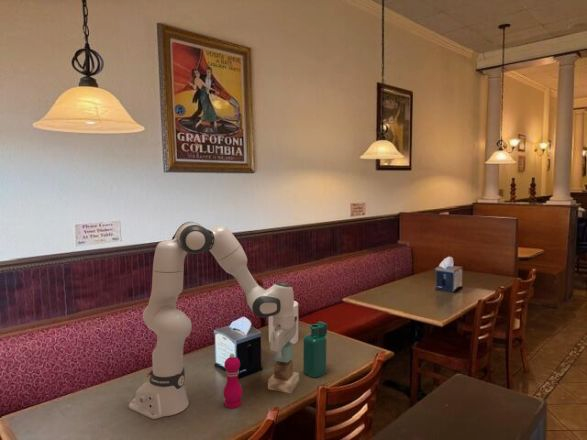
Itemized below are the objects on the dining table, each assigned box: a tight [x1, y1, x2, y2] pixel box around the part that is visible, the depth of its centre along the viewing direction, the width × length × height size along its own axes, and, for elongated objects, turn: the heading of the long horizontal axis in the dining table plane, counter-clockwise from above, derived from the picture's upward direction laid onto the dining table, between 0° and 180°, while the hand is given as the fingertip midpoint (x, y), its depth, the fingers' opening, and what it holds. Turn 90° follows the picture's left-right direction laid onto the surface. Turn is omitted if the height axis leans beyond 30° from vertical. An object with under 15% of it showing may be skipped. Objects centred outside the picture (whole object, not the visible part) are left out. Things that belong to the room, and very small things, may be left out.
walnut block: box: [273, 359, 294, 381], centre depth 173 cm, size 6×6×6 cm
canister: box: [268, 300, 299, 345], centre depth 222 cm, size 16×16×20 cm
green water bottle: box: [302, 321, 328, 379], centre depth 184 cm, size 10×8×22 cm
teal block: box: [273, 342, 294, 363], centre depth 172 cm, size 6×6×6 cm
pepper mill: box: [222, 353, 243, 409], centre depth 159 cm, size 7×7×20 cm
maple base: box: [267, 371, 300, 394], centre depth 173 cm, size 10×10×4 cm
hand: (283, 353), depth 172 cm, fingers closed on teal block, 6 cm apart
